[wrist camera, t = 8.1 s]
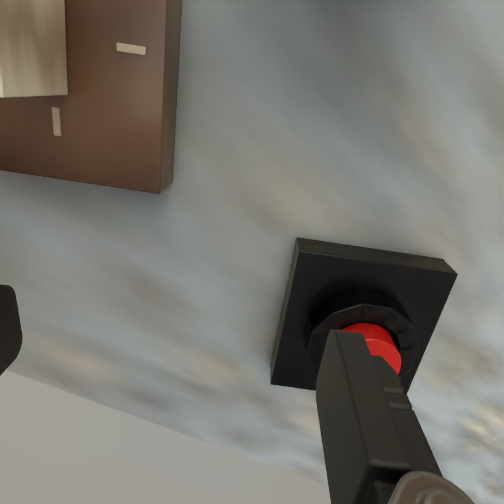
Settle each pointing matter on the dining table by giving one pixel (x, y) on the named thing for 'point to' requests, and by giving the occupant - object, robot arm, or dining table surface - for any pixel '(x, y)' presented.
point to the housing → (356, 305)
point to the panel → (104, 100)
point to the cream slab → (32, 48)
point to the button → (378, 342)
